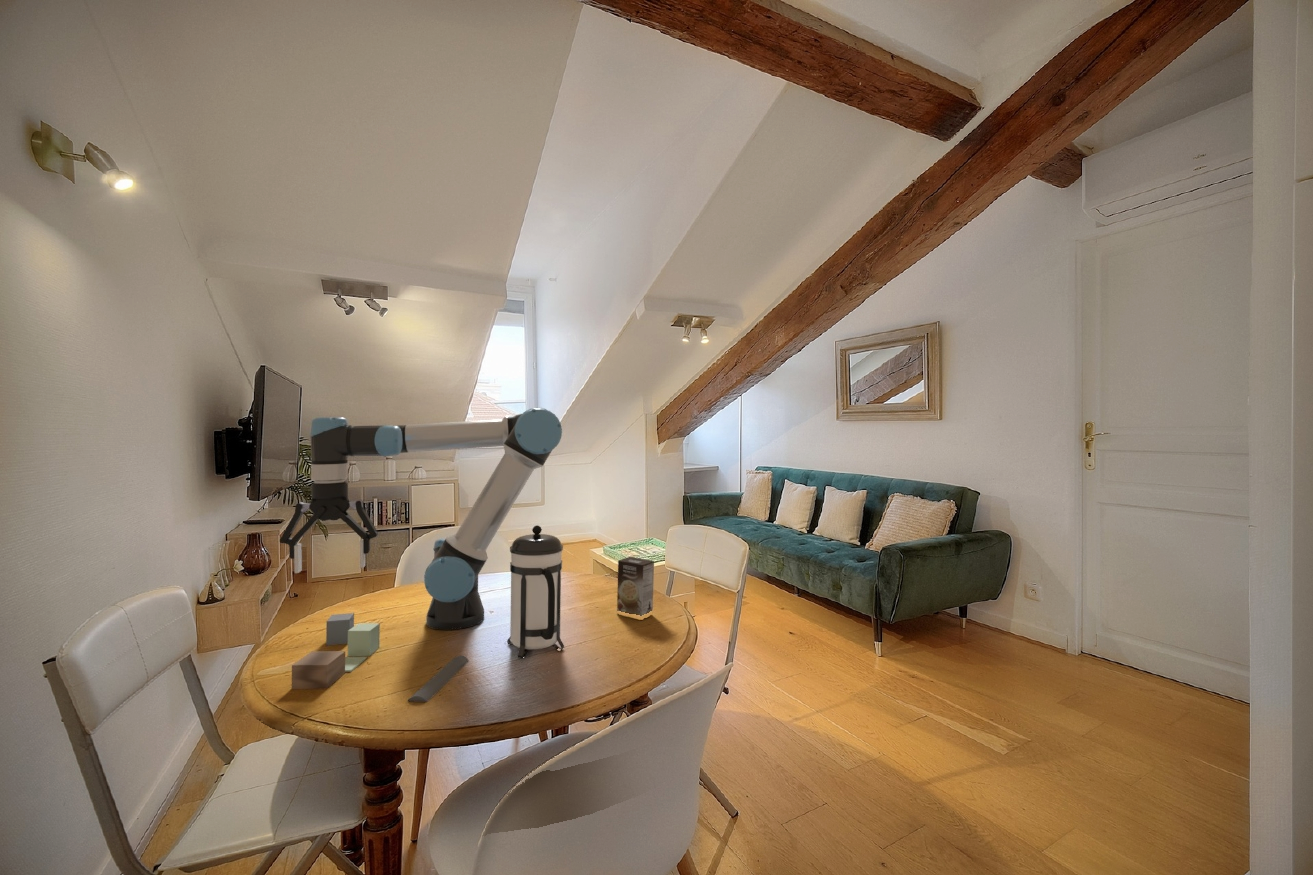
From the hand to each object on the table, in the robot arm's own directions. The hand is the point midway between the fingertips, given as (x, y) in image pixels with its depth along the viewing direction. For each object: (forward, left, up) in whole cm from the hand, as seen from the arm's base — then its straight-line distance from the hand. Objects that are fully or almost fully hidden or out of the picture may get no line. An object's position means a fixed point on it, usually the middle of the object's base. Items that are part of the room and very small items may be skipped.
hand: (331, 569), depth 129 cm
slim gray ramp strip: (-32, +17, -20) cm, 41 cm away
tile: (-8, +10, -19) cm, 23 cm away
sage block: (-9, +2, -19) cm, 21 cm away
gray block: (0, -5, -19) cm, 20 cm away
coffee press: (-50, +1, -19) cm, 54 cm away
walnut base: (-7, +17, -19) cm, 27 cm away
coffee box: (-74, -23, -19) cm, 80 cm away
